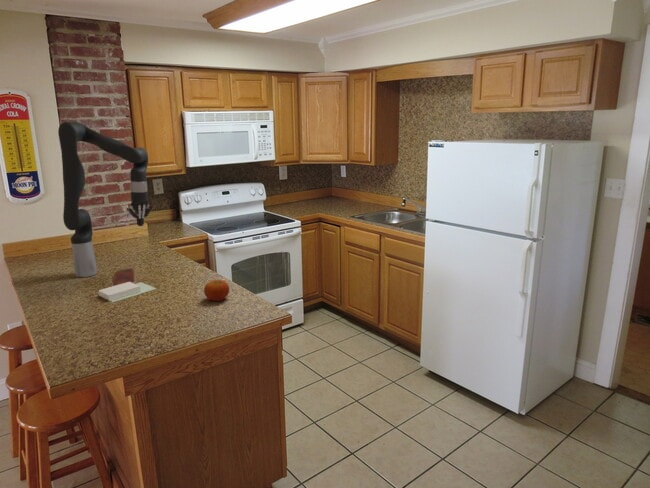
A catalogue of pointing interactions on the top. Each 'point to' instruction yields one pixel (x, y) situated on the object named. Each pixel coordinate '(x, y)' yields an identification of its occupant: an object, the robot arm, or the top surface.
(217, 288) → the fruit
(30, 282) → the top surface
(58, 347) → the top surface
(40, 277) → the top surface
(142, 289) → the cutting board
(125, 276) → the wooden tablet
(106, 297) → the white rectangular block
